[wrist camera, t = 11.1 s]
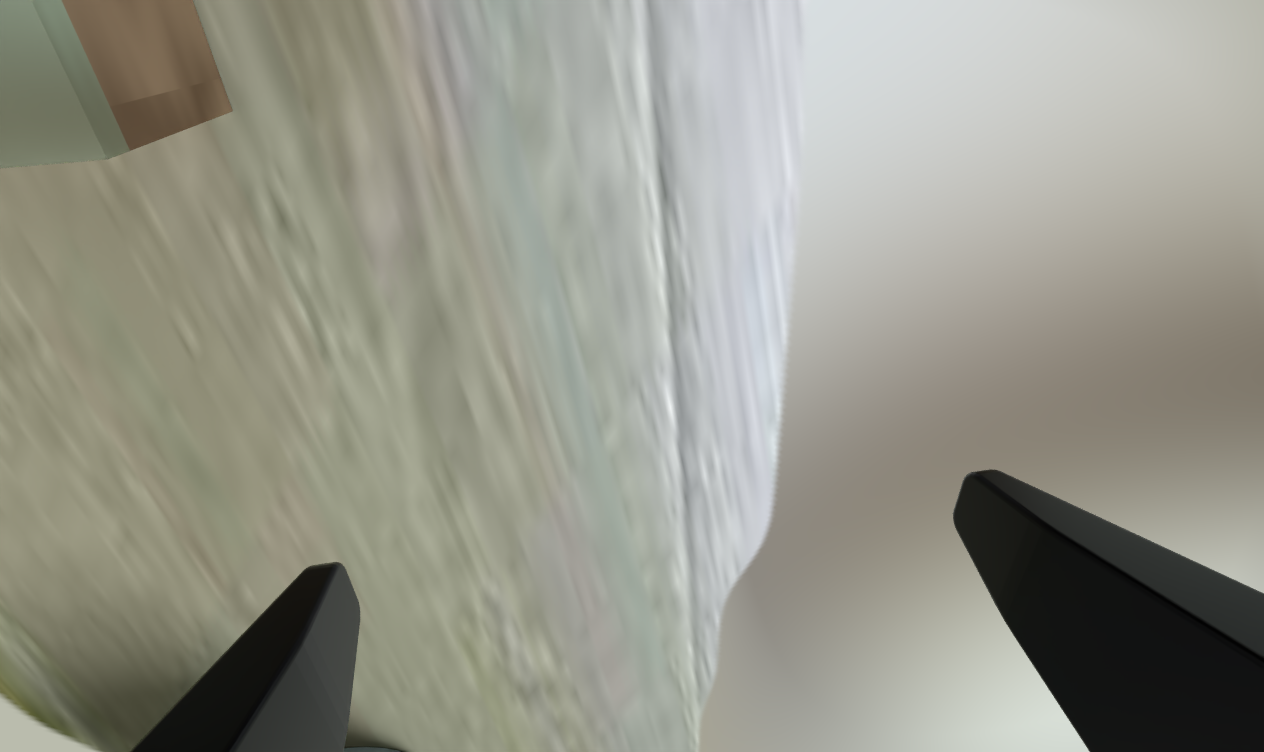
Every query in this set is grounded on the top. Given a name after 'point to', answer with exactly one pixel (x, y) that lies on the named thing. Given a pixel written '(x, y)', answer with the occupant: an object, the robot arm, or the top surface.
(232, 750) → the robot arm
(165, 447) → the top surface
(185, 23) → the box
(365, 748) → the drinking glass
